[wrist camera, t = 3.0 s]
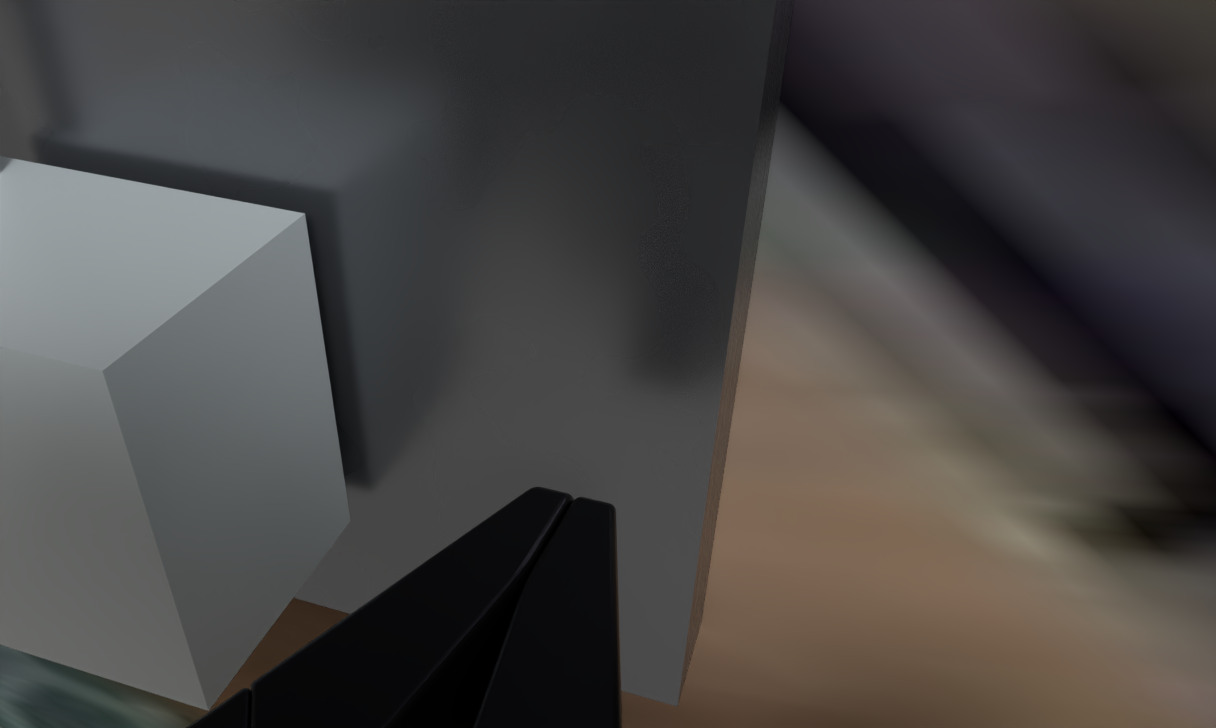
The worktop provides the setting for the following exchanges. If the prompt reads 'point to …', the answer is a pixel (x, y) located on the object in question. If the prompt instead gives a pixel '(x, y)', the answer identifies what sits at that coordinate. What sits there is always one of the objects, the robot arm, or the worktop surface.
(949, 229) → the worktop surface
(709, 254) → the gauge base
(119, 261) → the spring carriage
